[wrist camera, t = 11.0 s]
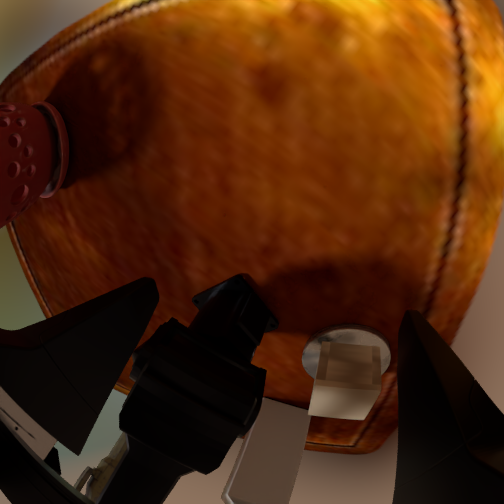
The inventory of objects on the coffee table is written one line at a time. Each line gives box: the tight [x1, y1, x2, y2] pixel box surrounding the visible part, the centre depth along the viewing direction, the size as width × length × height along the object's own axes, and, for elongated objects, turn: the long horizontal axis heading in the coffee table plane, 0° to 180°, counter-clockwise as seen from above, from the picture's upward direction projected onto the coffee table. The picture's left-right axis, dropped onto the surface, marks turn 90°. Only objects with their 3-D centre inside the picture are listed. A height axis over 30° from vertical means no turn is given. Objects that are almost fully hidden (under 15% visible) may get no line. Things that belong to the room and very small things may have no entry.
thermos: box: [74, 432, 127, 503], centre depth 26 cm, size 9×12×35 cm
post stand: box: [302, 324, 391, 379], centre depth 23 cm, size 9×9×4 cm
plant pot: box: [0, 101, 69, 228], centre depth 18 cm, size 13×13×12 cm
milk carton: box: [221, 397, 311, 504], centre depth 27 cm, size 7×7×19 cm
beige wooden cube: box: [308, 341, 381, 420], centre depth 22 cm, size 6×6×5 cm
